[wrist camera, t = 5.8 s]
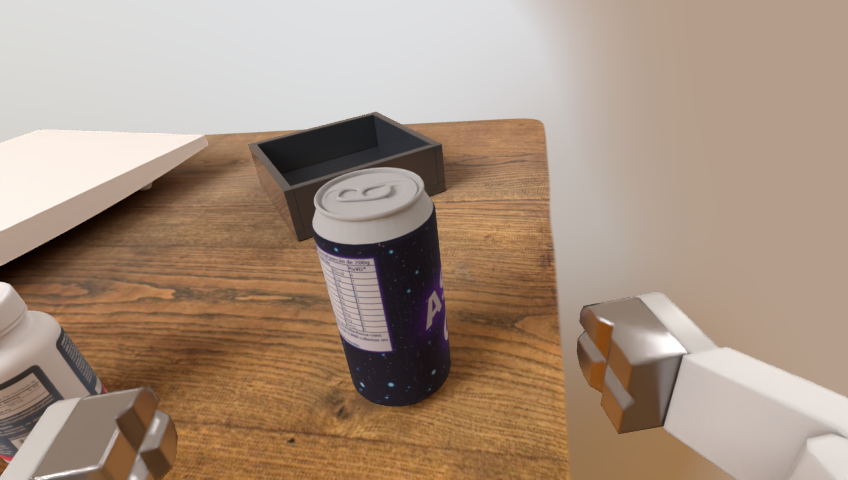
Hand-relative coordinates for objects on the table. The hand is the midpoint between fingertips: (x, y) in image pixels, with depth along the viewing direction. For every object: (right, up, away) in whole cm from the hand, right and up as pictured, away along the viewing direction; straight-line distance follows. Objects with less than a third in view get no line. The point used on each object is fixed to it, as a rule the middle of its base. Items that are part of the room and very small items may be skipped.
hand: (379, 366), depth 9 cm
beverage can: (0, -6, +18) cm, 19 cm away
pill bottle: (-20, -8, +17) cm, 28 cm away
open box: (-7, +8, +41) cm, 42 cm away
